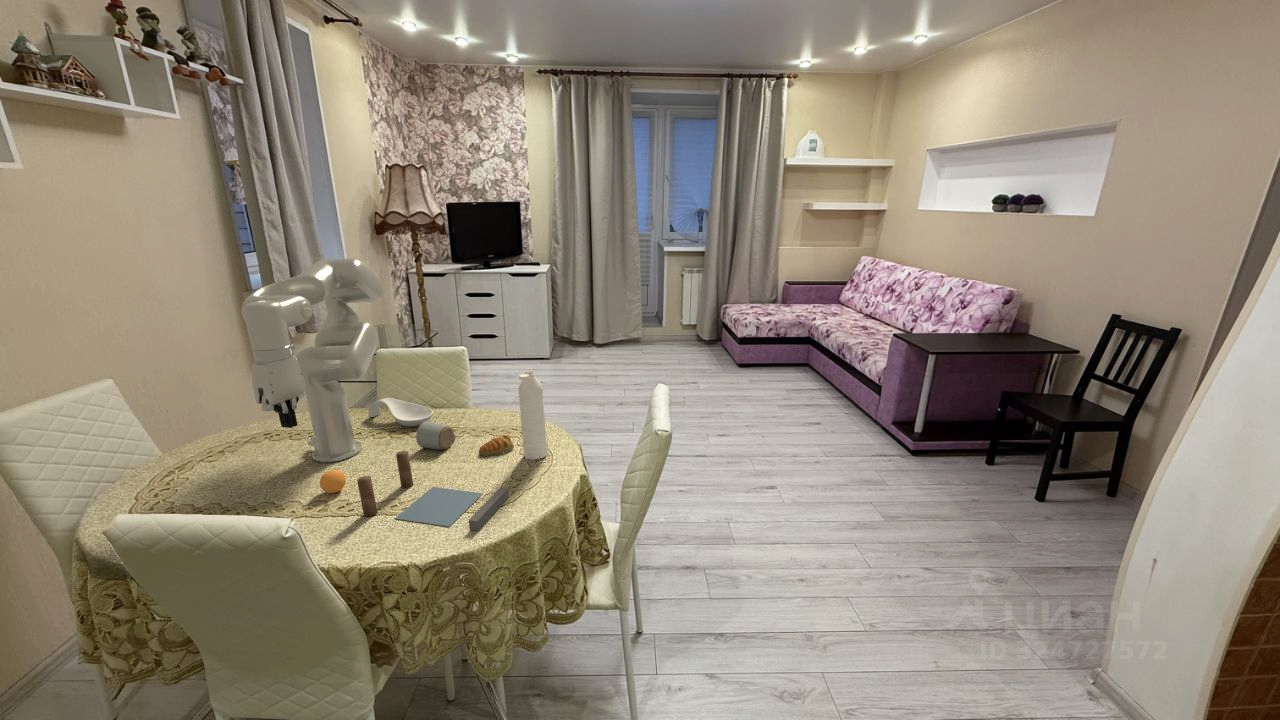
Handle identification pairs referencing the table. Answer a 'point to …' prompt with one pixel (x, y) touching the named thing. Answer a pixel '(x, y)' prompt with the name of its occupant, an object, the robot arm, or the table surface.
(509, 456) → the table surface
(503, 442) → the pastry
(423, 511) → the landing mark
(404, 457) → the post
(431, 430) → the ceramic mug
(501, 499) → the wall
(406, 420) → the spoon rest
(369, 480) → the post
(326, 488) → the ball
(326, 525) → the table surface
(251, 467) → the table surface
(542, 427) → the water bottle
